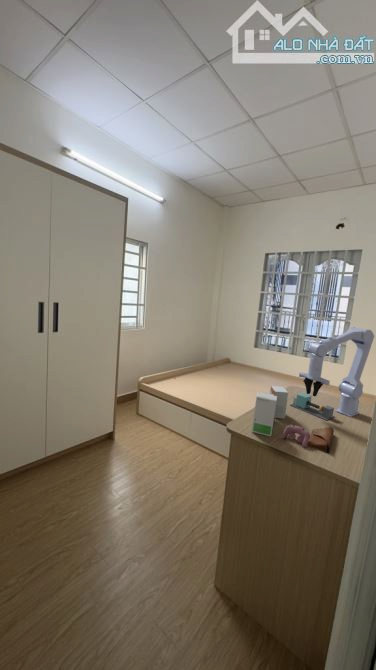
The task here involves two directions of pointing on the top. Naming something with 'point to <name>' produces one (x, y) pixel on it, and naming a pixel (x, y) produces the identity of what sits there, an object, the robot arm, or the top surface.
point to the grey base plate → (312, 411)
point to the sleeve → (303, 400)
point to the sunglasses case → (321, 439)
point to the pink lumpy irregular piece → (294, 429)
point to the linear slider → (320, 409)
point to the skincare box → (264, 414)
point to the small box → (280, 400)
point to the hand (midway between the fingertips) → (311, 394)
